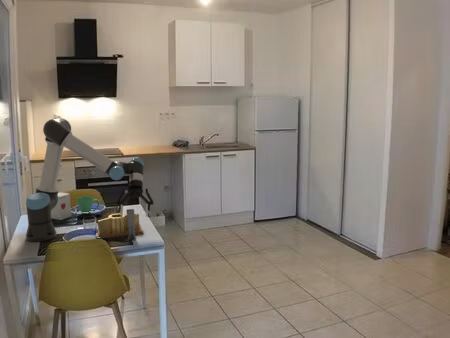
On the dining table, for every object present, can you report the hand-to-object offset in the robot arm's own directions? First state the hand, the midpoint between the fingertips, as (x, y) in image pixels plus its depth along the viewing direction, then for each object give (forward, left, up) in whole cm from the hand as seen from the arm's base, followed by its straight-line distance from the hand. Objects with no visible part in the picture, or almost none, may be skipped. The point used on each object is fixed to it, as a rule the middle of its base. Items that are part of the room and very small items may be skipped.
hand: (134, 216), depth 226 cm
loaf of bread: (-8, +11, -12) cm, 18 cm away
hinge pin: (-2, -3, -12) cm, 12 cm away
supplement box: (-39, +52, -12) cm, 66 cm away
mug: (-22, +55, -12) cm, 60 cm away
